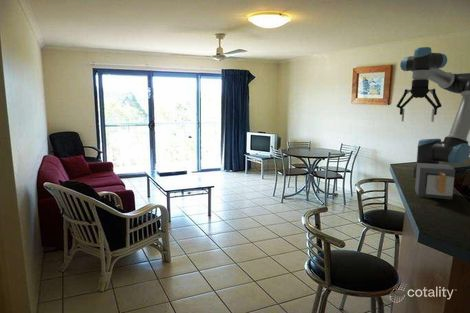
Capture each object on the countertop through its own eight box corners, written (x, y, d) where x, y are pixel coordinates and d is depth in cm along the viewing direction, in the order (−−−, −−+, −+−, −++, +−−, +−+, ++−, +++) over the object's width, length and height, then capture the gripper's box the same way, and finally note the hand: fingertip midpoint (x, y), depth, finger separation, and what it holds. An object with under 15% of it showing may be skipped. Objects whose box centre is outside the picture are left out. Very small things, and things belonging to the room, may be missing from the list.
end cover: (422, 187, 162) (424, 166, 161) (446, 189, 158) (448, 168, 157) (428, 197, 145) (430, 174, 143) (455, 200, 141) (458, 176, 139)
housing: (414, 189, 174) (417, 162, 171) (446, 192, 168) (449, 164, 166) (418, 196, 161) (420, 167, 159) (452, 199, 155) (455, 169, 153)
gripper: (393, 79, 172) (390, 121, 175) (450, 77, 162) (446, 122, 166) (392, 80, 179) (390, 120, 182) (447, 79, 169) (443, 121, 172)
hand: (417, 121), depth 174 cm, fingers open, 13 cm apart
